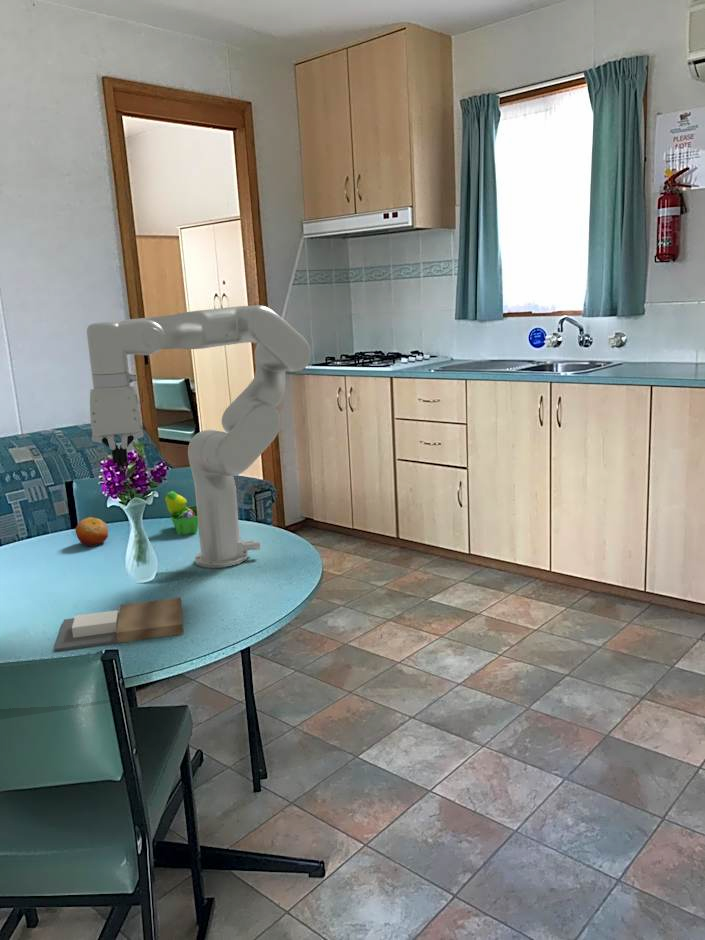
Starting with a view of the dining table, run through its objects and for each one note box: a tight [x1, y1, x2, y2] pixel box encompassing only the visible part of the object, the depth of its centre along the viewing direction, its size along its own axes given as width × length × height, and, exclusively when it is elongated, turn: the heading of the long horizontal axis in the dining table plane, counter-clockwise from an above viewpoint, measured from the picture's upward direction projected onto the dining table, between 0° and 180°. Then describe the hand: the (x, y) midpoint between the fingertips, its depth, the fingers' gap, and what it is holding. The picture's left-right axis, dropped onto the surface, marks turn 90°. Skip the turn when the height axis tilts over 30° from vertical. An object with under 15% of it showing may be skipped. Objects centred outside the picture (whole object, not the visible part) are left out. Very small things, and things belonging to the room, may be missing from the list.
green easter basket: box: [164, 490, 199, 535], centre depth 214 cm, size 11×9×11 cm
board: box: [116, 597, 184, 644], centre depth 152 cm, size 12×14×2 cm
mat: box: [54, 611, 119, 652], centre depth 150 cm, size 11×14×1 cm
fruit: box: [75, 516, 109, 547], centre depth 205 cm, size 8×8×8 cm
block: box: [72, 610, 119, 638], centre depth 150 cm, size 8×6×2 cm
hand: (121, 466), depth 168 cm, fingers closed
